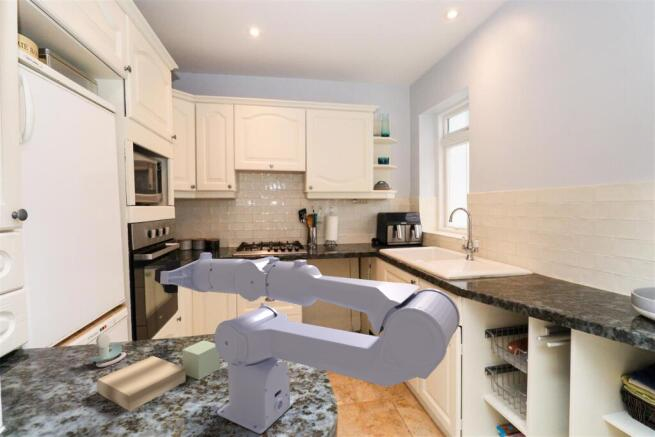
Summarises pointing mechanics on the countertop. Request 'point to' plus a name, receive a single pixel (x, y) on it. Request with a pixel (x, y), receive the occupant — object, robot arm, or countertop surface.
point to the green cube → (200, 359)
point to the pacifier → (107, 351)
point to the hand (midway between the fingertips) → (176, 273)
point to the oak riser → (141, 382)
